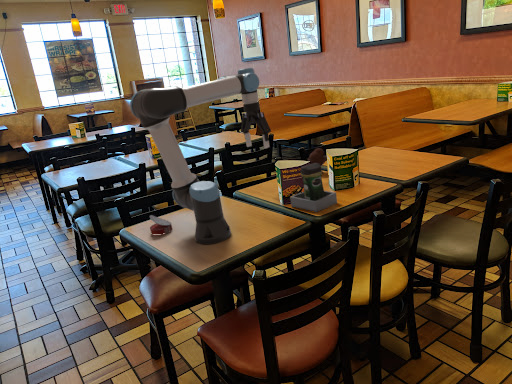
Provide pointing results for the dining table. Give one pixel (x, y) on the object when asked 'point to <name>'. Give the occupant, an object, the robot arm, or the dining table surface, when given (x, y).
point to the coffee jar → (312, 181)
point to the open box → (311, 205)
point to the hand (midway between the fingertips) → (257, 147)
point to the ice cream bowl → (317, 157)
